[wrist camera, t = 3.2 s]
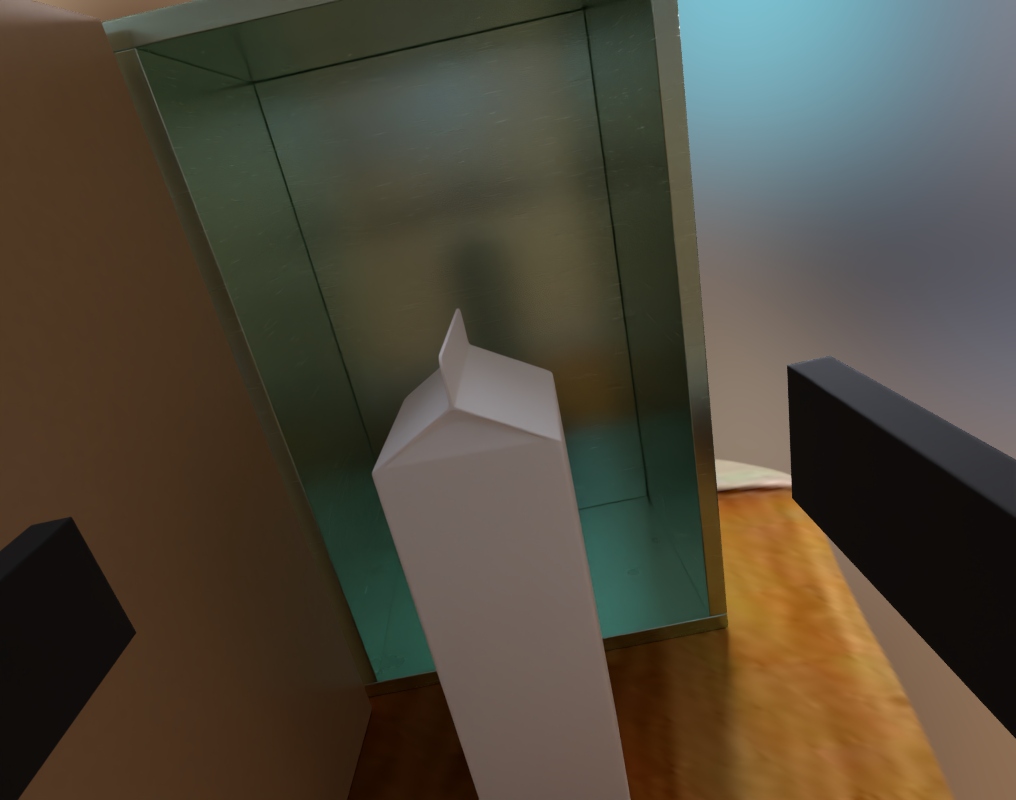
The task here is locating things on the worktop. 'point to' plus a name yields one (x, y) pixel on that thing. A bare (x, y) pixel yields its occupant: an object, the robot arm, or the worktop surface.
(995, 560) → the robot arm
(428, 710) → the worktop surface
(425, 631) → the milk
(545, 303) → the fridge
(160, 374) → the fridge door
